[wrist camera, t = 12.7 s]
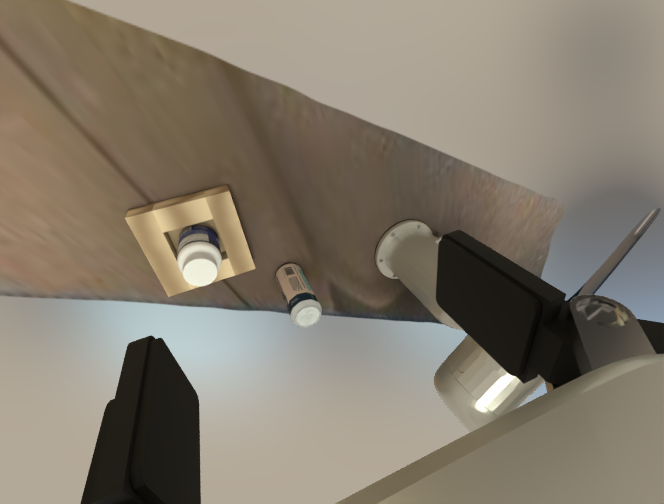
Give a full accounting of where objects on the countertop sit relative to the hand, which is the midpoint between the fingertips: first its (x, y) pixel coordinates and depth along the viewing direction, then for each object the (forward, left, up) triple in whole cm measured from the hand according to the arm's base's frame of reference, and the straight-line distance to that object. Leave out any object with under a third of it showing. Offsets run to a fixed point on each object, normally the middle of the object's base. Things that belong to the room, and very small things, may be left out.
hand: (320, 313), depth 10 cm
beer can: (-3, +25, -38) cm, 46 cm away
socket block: (+8, +14, -38) cm, 41 cm away
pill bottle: (+8, +14, -38) cm, 41 cm away
